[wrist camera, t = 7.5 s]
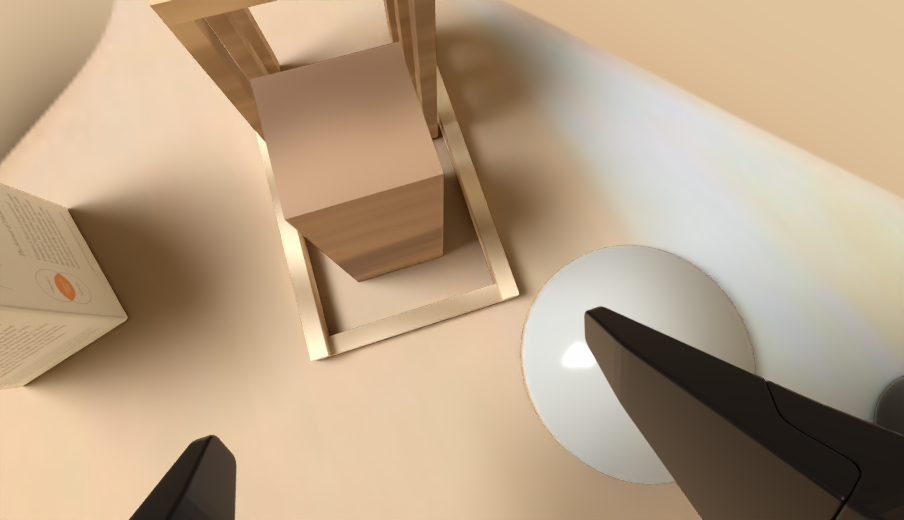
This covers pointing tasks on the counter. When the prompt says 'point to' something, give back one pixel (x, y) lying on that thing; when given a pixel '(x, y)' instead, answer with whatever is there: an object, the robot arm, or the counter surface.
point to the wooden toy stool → (227, 13)
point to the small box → (46, 289)
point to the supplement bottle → (891, 407)
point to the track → (373, 332)
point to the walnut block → (355, 160)
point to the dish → (577, 372)
